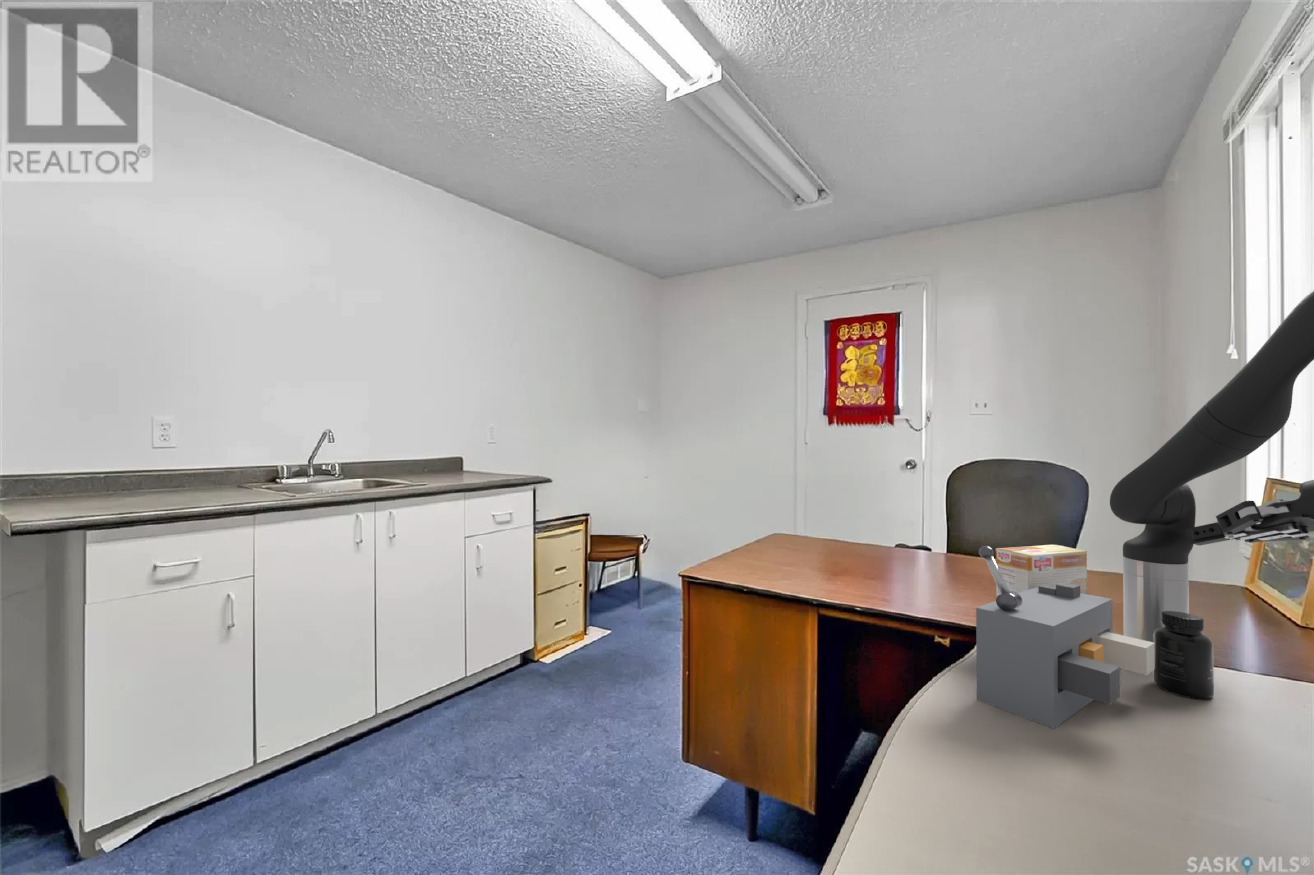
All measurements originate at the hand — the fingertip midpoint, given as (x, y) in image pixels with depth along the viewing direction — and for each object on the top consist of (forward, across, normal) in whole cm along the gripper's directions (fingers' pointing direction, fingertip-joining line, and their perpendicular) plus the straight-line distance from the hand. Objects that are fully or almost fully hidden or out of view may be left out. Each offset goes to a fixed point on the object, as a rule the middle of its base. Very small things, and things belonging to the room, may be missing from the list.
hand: (1190, 537), depth 74 cm
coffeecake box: (+33, +13, -12) cm, 37 cm away
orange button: (+19, -4, -16) cm, 25 cm away
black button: (+14, -10, -20) cm, 27 cm away
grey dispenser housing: (+23, -3, -20) cm, 31 cm away
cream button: (+17, +5, -15) cm, 23 cm away
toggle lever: (+18, -15, -10) cm, 25 cm away
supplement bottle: (+15, +18, -18) cm, 30 cm away
